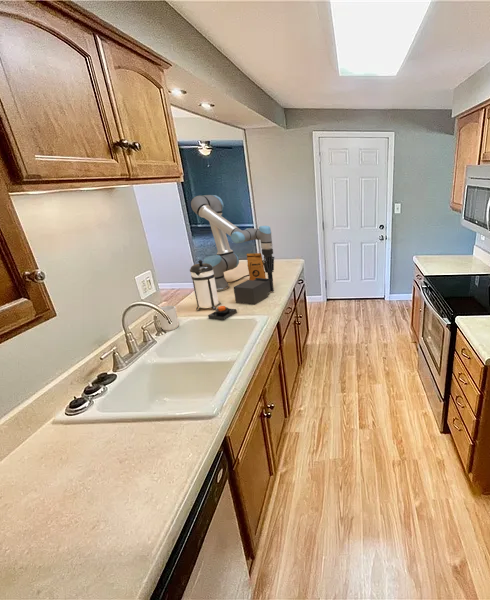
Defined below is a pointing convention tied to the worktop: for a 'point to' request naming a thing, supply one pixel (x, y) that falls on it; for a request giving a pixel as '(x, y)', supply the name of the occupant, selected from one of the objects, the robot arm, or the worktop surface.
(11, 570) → the worktop surface
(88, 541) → the worktop surface
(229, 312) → the panel
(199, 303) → the coffee press
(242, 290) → the dark grey box
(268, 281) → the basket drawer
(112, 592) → the worktop surface
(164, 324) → the mug
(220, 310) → the button
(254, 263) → the coffee package
